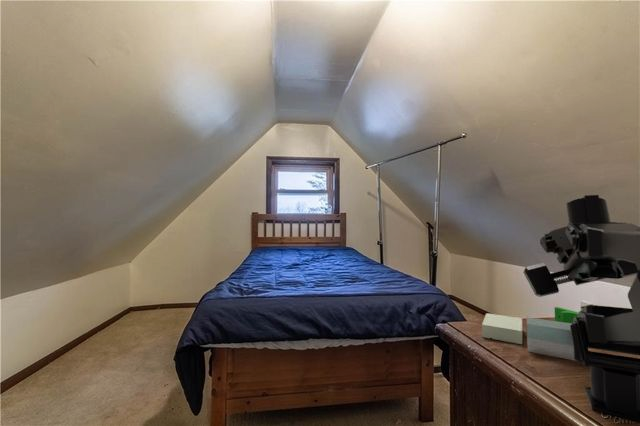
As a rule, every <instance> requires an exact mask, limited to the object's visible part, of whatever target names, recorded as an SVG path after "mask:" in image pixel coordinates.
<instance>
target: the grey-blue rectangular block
mask: <svg viewBox="0 0 640 426" xmlns="http://www.w3.org/2000/svg"><path fill="white" fill-rule="evenodd" d="M570 325H571V323H564V322H557V321H555V320H550V319H549V320H547V319H542V318H541V319H540V318H536V317H535V318H534V317H526V336H527V337H526V338H527V340H526V341H527V345H526V346H527V352H529V353H533V354H534V353H535V354H540V355H545V356H549V357H555V358H561V359H565V360H571V361H577V360H575V359H574V348H573V342H572V336H571V330H570Z"/></svg>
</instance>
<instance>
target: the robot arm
mask: <svg viewBox="0 0 640 426" xmlns="http://www.w3.org/2000/svg"><path fill="white" fill-rule="evenodd" d="M566 212H567V217H568V218H567V219H568V223H567V225H566V226H564V227H560V228H556V229H553V230H551V231H549V232H548V233H544V236H542V237H541V238H540V239H539V243H540V246H541V247H542V249H543V250H544V252H545V253H547V254H548V253H549V254H550V253H553V254H555V255H556V254H557V257H556V260H557V261H558V263H559V264H563V267H562V268H563V270H560V271H556V272H550V270H549V269H548V267H547V265H546V264H545V263H544V262H541V263H535V264H533V265H528V266H525V268H524V270H523V275H524V277H525V279H526V280H527V282H528V284H529V286H530V288H531V290H532V291H533V293H534V295H535V296H537V297H539V298H541V297H545V296H550V295H553V294H559V292H560V290H559V286H558V285H563V284H567V283H571V282H574V284H575V286H580V285H584V284H589V283H594V282H596V281H597V282H598V281H601V280H605V279H615V280H618V279H623V278H628V277H632V276H635V278H634V279H633V282H632V284H631V286H630V288H629V290H628V292H627V299H628V300H629V304H630V306H631V307H630V308H628V307H620V306H619V307H617V306H606V305H596V304H588V305H585V306H580V310H579V311H578V312H579V313H578V317H574V319H573V323H572V324H571V325H570V330H571V336H572V342H573V348H574V359H575V360H576V361H578V362H580V363H582V364H583V366H586V367H589V369H590V386H585V387H584V390H585V393H586V397H587V400H588V402H589V405H590V407H591V409H592V410H594V411H597V412H600V413H605V414H608V415H614V416H617V417H620V418H625V419H629V420H632V421H636V422H640V226H638V225H636V224H634V223H629V222H616V221H615V222H614V221H612V222H611V217H610V212H609V208H608V202H607V200H606V199H605V198H602V197H600V195H598V194H587V195H586V194H585V195H583V197H581V198H577V199H576V198H575V199H573V200H571V201H569V202H567V203H566ZM589 349H591V350H599V351H606V352H614V353H619V354H626V355H631V357H630V356H625V355H624V356H623V355H617V354H611V353H604V352H598V351H590V350H589ZM632 355H633V356H639V358H638V357H632ZM575 360H574V361H575Z"/></svg>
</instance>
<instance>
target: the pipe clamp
mask: <svg viewBox="0 0 640 426" xmlns="http://www.w3.org/2000/svg"><path fill="white" fill-rule="evenodd" d="M579 312H580V311H575V310H571V309H567V308H563V307H559V306H556V307H554V321H557V322H564V323H571V324H572V323H573V319H574V317H578V313H579Z"/></svg>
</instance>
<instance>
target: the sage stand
mask: <svg viewBox="0 0 640 426" xmlns="http://www.w3.org/2000/svg"><path fill="white" fill-rule="evenodd" d="M481 328H482V329H481V337H482V338H485V339H490V338H492V339H491V340H497V341H500V342H501V341H502V342H507V343H513V344H519V345H523V317H515V316H509V315H501V314H496V313H495V314H494V313H485V315H484V318H483V321H482V323H481Z"/></svg>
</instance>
